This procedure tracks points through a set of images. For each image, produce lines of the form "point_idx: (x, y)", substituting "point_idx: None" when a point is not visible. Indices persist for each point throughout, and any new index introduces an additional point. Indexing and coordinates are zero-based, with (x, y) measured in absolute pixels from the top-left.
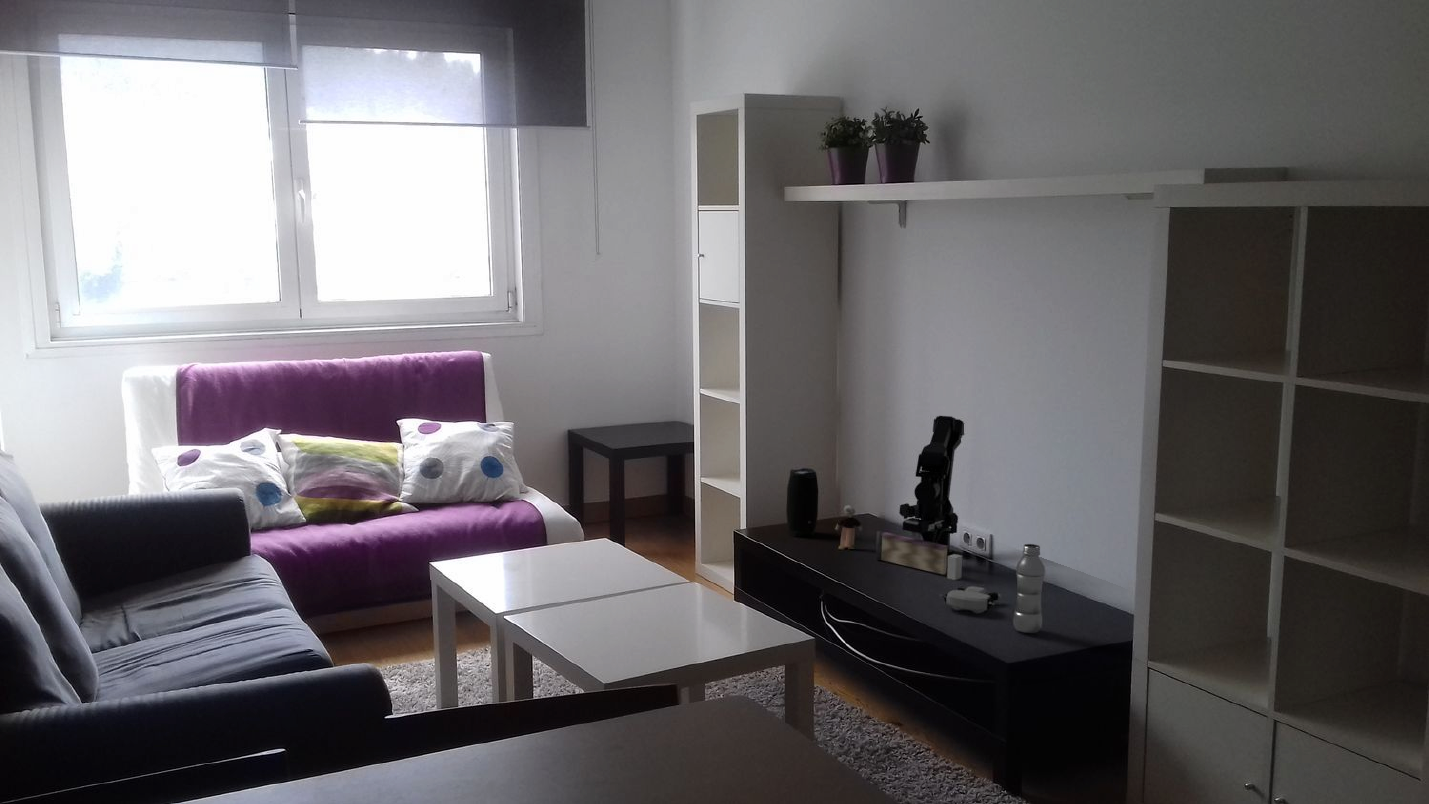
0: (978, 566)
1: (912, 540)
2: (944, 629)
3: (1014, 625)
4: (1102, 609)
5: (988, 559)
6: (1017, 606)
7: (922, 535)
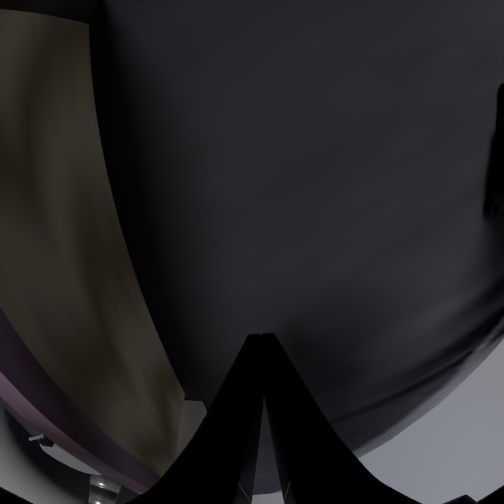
0: (394, 378)
1: (24, 414)
2: (24, 426)
3: None
4: (255, 491)
5: (489, 338)
6: (90, 489)
7: (172, 472)
